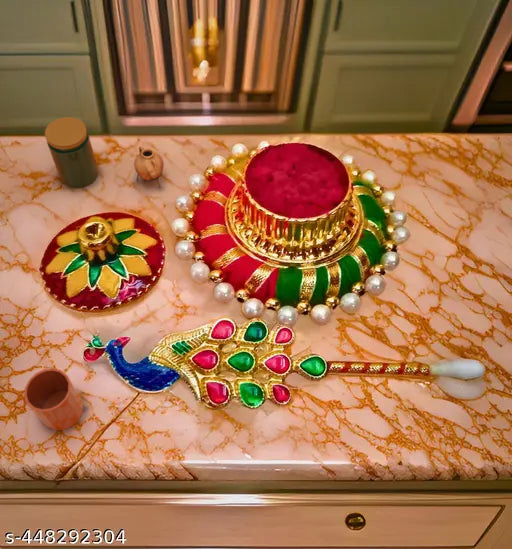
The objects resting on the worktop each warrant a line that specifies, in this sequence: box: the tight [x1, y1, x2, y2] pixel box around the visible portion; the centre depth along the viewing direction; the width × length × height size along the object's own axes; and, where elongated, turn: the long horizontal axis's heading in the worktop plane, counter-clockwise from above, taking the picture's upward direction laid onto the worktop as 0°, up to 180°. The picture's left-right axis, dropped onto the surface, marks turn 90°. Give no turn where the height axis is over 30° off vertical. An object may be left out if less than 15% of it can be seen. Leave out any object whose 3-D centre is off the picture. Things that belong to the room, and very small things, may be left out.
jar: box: [44, 116, 100, 189], centre depth 116 cm, size 8×8×12 cm
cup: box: [23, 368, 84, 431], centre depth 90 cm, size 7×7×9 cm
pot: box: [133, 146, 165, 188], centre depth 118 cm, size 6×8×6 cm
